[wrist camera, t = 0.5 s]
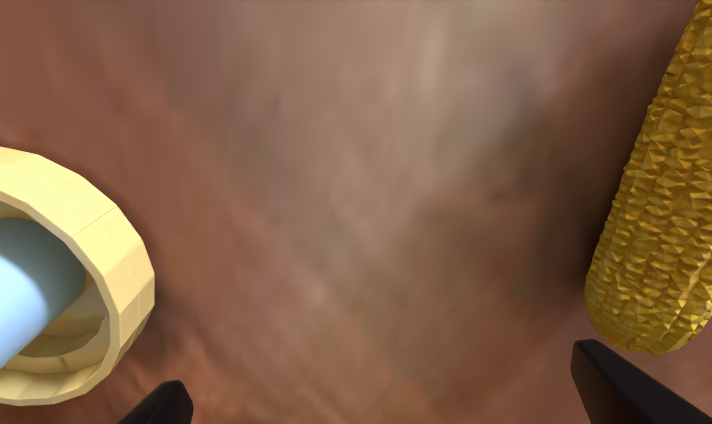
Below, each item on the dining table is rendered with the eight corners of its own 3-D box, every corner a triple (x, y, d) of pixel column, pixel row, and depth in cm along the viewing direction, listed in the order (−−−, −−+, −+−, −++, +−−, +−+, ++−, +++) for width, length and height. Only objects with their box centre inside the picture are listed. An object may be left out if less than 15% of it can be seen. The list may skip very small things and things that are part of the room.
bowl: (186, 345, 28) (155, 399, 24) (-16, 357, 29) (-79, 411, 25) (111, 131, 22) (52, 154, 18) (-143, 155, 23) (-256, 182, 19)
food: (641, 304, 26) (715, 378, 20) (554, 298, 26) (604, 370, 20) (821, -98, 17) (1037, -161, 11) (689, -108, 17) (843, -175, 11)
